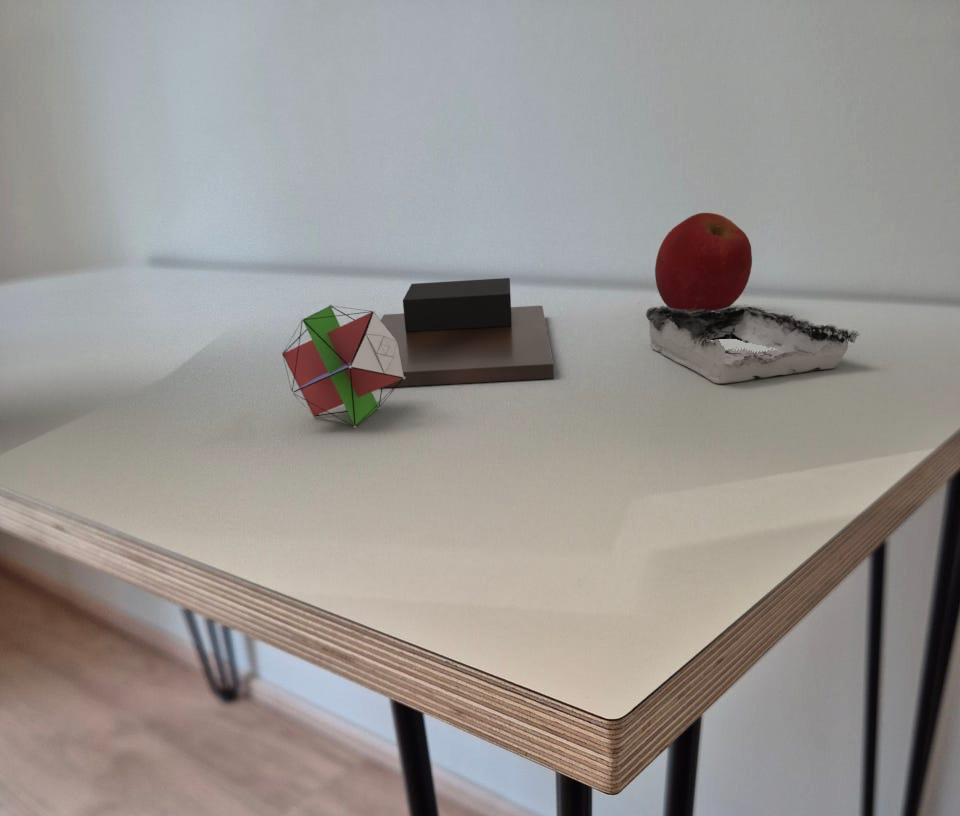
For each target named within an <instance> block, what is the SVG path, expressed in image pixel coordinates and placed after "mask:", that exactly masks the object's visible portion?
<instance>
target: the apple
mask: <svg viewBox="0 0 960 816" xmlns="http://www.w3.org/2000/svg"><path fill="white" fill-rule="evenodd" d="M752 254H753V253H752V246H751V242H750V239H749V237H748V235H747V234H746V232H744V231H743V229H741V228H740V227H739V226H738V225H737V224H735V223H734V222H733V221H732V220H730V219H729V218H728V217H726V216H724V215H721V214H718V213H713V212H698V213H696V214H693V215H691V216H689V217H687V218H685V219H684V220H682V221H681V222H680V223H678V224H677V225H675V226H674V227H673V228H672V229H671V230H670V231H668V233H667V234H666V236H665V237H664V238H663V240H662V243H661V244H660V246H659V249H658V251H657V254H656V258H655V259H656V260H655V267H654V274H655V275H654V277H655V283H656V287H657V292H658V295H659V296H660V299H661V300H662V301H663V303H664V304H665V306H667V307H670V308H674V309H683V310H686V311H688V312H693V311H697V310H701V309H705V310H718V309H723V308H726V307H729V306H733V305H734V303H736V301H737V300H738V299H739V298H740V297H741V295H742V294H743V293H744V290H746V287H747V284H748V283H749V280H750V276H751V271H752V264H753V255H752Z"/></svg>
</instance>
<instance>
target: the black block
mask: <svg viewBox="0 0 960 816" xmlns="http://www.w3.org/2000/svg"><path fill="white" fill-rule="evenodd" d="M511 295H512V294H511V278H510V277H504V278H503V277H502V278H485V279H469V280H453V281H452V280H451V281H435V282H417V283H411V284H410V286H409V287H408V290H407V291H406V294H405V295H404V297H403V299H402V307H403V308H402V309H403V313H404V319H405V330H406V332H418V331H436V330H453V329H471V328H489V327H506V326H511V325H512V324H511V307H512V297H511Z"/></svg>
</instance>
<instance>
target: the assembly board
mask: <svg viewBox="0 0 960 816" xmlns="http://www.w3.org/2000/svg"><path fill="white" fill-rule="evenodd" d="M380 320H381V321H382V323H383V324H384V325H385V326H386V328H387V329H388V330H389V331H390V333H391V334H392V335H393V336H394V338H395V339H396V340H397V342H398V347H399V352H400V358H401V363H402V368H403V374H404V377H405V379H403V380H402V379H401V380H402V381H401V380H399V381H396V382H394V383H391V384H389V385H387V386H384V387H383V389H385V388H386V389H387V388H394V387H395V386H396V385H397V384H398V383H399V382H400V381H401V382H400V384H399V385H398V386H397V387H396V388H405V387H421V386H422V387H423V386H424V387H425V386H440V385H444V386H445V385H459V384H462V385H463V384H476V383H477V384H479V383H480V384H481V383H497V382H517V381H534V380H553V379H554V378H555V374H554V373H555V372H554V371H555V369H554V360H553V354H552V350H551V344H550V340H549V334H548V333H549V332H548V328H547V323H546V317H545V311H544V307H543V305H529V306H528V305H527V306H524V305H523V306H511V324H512V325H511V326H506V327H489V328H471V329H453V330H436V331H418V332H406V330H405V319H404V312H403V313H389V314H387V313H386V314H383V315H382V317H381V318H380Z"/></svg>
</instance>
